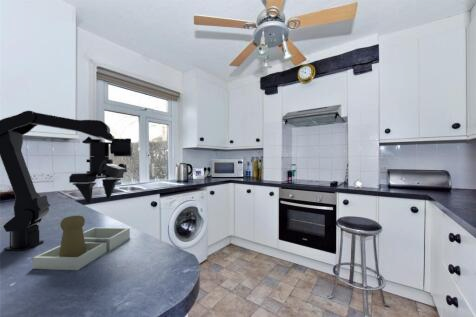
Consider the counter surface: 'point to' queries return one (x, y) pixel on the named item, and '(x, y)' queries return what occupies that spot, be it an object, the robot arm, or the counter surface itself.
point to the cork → (72, 237)
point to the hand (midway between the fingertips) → (99, 200)
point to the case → (107, 236)
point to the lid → (69, 263)
